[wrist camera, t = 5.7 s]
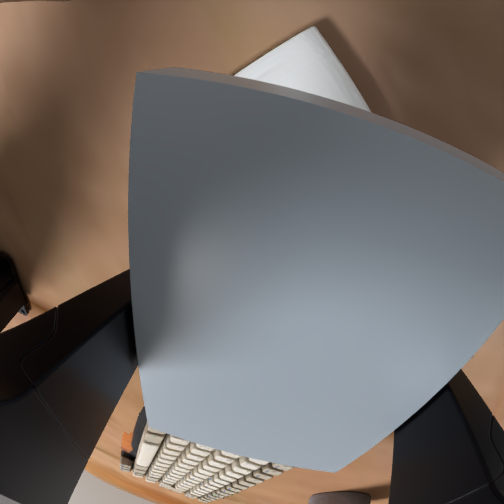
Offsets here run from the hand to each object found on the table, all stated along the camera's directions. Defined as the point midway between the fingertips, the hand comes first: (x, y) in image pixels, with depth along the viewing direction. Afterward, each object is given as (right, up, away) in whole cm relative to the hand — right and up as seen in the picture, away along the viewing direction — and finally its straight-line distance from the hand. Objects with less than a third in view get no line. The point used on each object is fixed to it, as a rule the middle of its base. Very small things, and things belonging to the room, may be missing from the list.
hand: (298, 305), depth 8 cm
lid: (0, -1, -1) cm, 1 cm away
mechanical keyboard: (-9, -25, +28) cm, 39 cm away
